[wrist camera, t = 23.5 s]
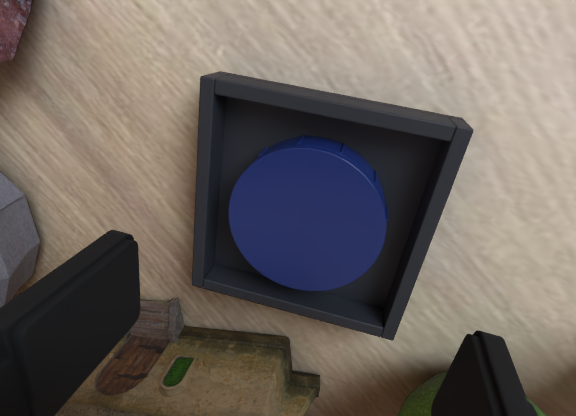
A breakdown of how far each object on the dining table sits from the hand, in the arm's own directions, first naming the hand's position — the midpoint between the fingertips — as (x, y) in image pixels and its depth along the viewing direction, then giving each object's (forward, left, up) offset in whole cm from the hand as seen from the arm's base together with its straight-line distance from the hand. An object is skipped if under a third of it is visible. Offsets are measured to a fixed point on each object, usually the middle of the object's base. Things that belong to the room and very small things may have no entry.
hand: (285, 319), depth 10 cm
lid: (+1, 0, -6) cm, 6 cm away
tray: (0, 0, -8) cm, 8 cm away
